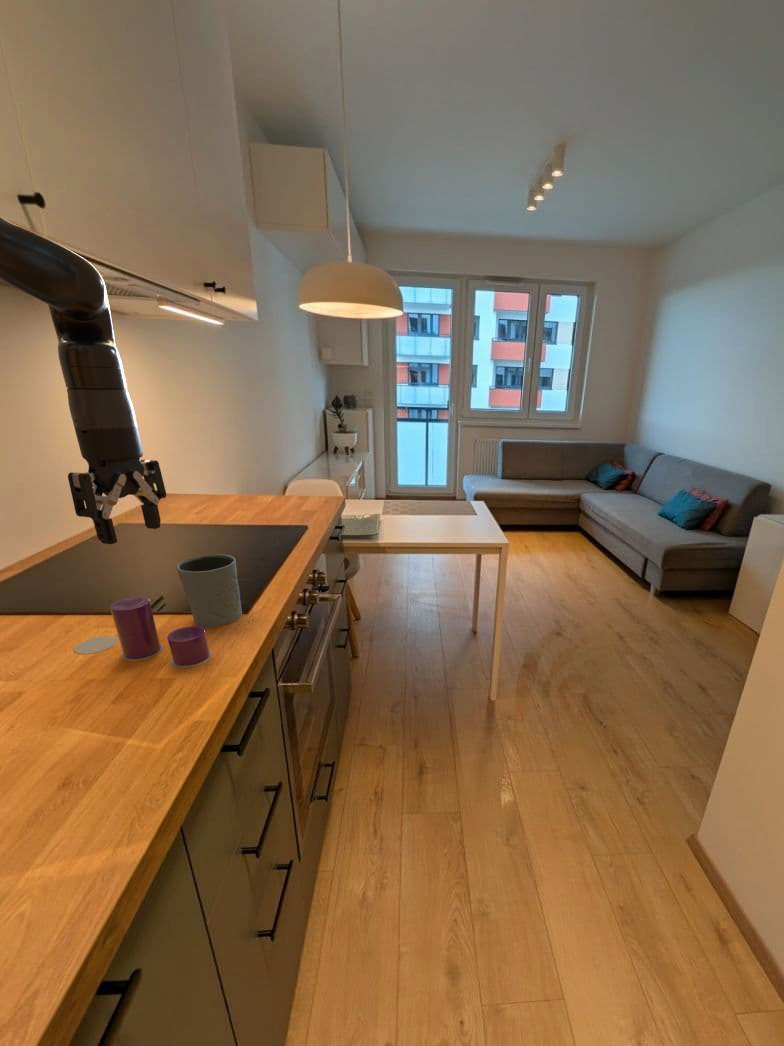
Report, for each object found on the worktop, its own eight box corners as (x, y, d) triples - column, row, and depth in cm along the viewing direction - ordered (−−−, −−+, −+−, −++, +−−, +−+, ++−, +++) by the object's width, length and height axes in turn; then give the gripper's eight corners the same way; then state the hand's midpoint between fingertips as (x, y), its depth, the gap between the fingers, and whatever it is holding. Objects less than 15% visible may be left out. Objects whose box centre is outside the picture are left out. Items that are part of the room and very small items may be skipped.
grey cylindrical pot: (244, 626, 97) (234, 568, 92) (186, 634, 94) (172, 574, 89) (245, 606, 106) (236, 551, 101) (192, 612, 102) (179, 556, 98)
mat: (49, 662, 84) (48, 659, 84) (108, 630, 95) (107, 627, 95) (185, 682, 79) (185, 678, 79) (231, 645, 90) (231, 642, 90)
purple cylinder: (108, 633, 83) (101, 608, 81) (134, 618, 88) (128, 595, 86) (137, 637, 82) (131, 612, 80) (162, 622, 87) (156, 598, 85)
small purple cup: (115, 657, 85) (108, 633, 83) (141, 641, 90) (134, 618, 88) (144, 661, 84) (137, 637, 82) (168, 645, 89) (162, 622, 87)
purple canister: (165, 663, 83) (159, 639, 82) (188, 647, 88) (183, 624, 87) (195, 667, 82) (189, 643, 80) (216, 651, 87) (212, 627, 85)
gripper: (124, 419, 78) (146, 522, 85) (35, 426, 65) (70, 546, 72) (166, 421, 77) (186, 525, 83) (84, 429, 64) (115, 551, 70)
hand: (132, 535), depth 78 cm, fingers open, 8 cm apart
